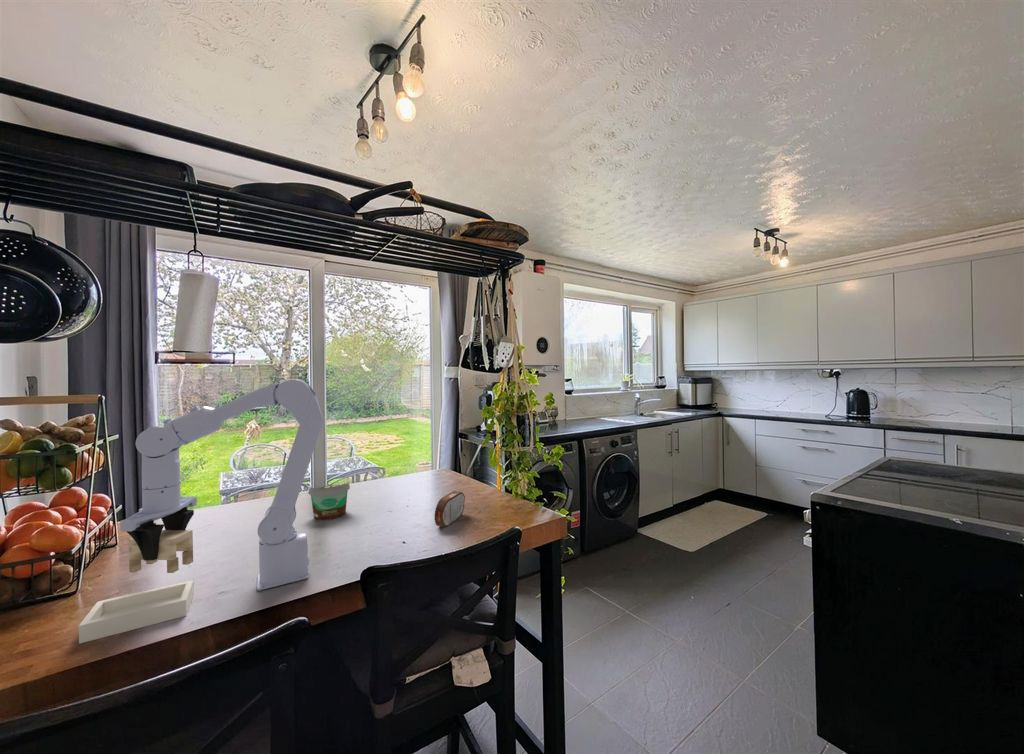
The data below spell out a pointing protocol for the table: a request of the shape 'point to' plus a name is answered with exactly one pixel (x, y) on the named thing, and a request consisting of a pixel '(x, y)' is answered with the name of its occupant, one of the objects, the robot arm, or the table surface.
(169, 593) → the tray
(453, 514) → the tin
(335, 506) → the food container
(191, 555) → the wooden toy bench
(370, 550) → the table surface
